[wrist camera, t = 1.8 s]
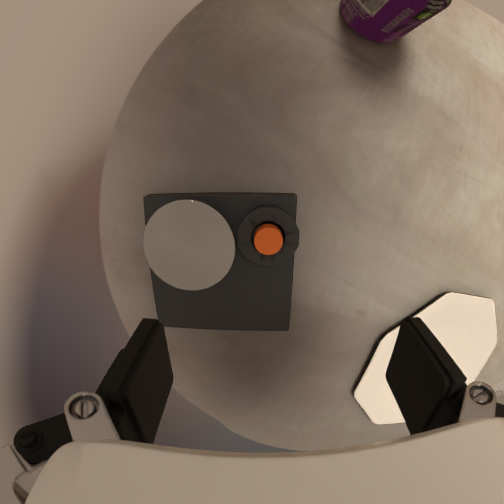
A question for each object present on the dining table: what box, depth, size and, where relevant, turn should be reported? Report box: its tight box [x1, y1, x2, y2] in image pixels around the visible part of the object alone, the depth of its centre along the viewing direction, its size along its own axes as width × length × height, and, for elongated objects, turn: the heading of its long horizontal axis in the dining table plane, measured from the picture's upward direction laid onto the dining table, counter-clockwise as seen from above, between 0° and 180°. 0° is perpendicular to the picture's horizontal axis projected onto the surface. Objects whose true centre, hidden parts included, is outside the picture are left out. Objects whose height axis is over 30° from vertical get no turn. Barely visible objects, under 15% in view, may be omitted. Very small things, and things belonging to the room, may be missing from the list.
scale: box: [144, 192, 299, 331], centre depth 28 cm, size 14×14×3 cm
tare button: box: [254, 224, 283, 255], centre depth 25 cm, size 2×2×1 cm
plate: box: [354, 292, 497, 424], centre depth 33 cm, size 24×24×2 cm
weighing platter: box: [143, 199, 236, 290], centre depth 26 cm, size 8×8×1 cm
